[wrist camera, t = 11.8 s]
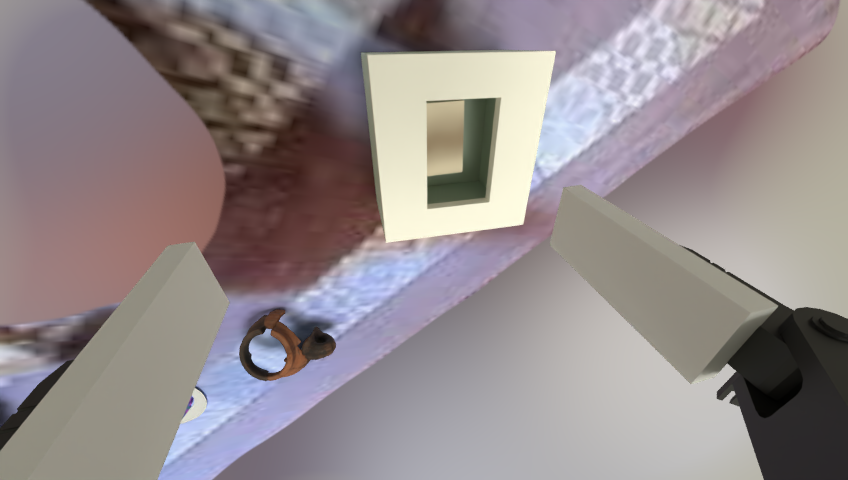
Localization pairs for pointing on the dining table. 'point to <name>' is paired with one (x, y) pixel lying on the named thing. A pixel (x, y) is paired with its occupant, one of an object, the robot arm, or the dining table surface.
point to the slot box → (482, 139)
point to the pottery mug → (296, 358)
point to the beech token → (445, 136)
